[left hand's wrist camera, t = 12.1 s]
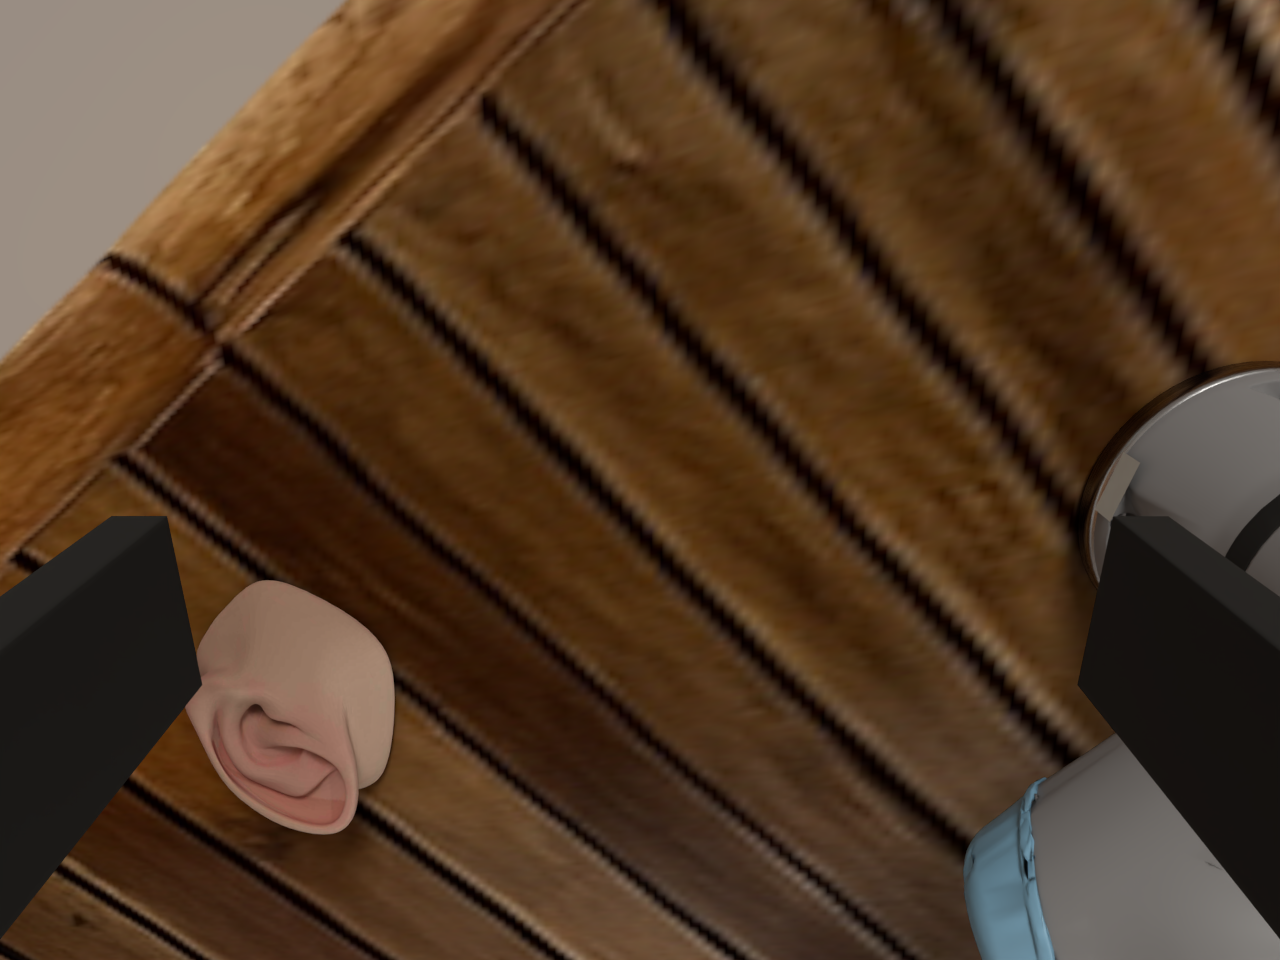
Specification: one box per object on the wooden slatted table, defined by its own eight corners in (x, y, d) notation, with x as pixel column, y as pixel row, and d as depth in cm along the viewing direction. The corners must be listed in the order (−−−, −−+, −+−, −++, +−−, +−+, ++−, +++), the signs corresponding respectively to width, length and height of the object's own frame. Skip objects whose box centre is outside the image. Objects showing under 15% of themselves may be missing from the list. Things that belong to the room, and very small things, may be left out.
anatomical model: (176, 598, 43) (408, 660, 45) (213, 561, 47) (425, 620, 48) (145, 805, 48) (355, 856, 49) (181, 756, 52) (375, 805, 53)
